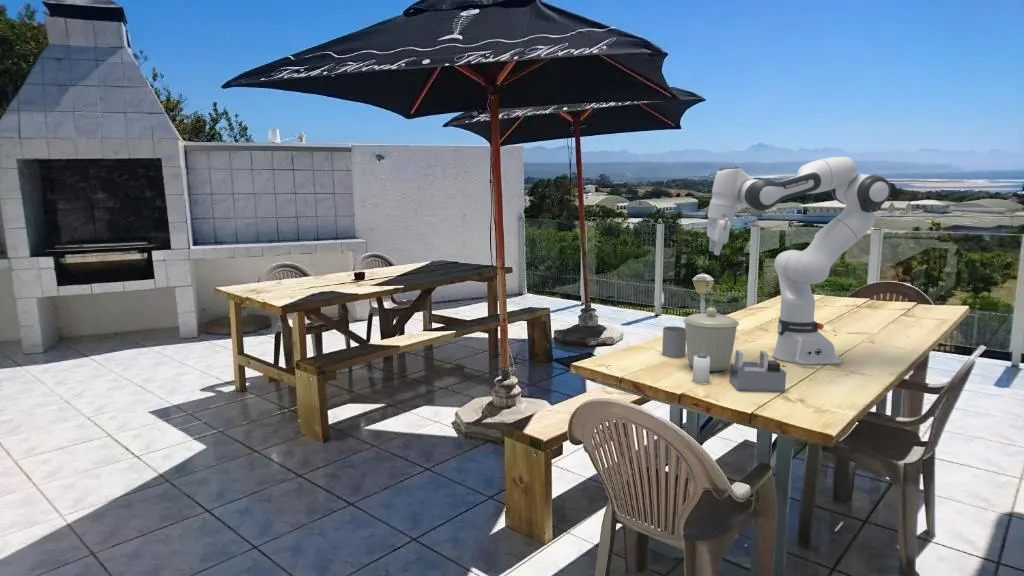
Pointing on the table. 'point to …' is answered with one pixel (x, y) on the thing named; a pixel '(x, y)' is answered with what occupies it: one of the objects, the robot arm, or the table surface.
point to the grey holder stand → (757, 374)
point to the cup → (674, 342)
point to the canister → (711, 338)
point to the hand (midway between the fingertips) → (714, 252)
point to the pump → (701, 368)
